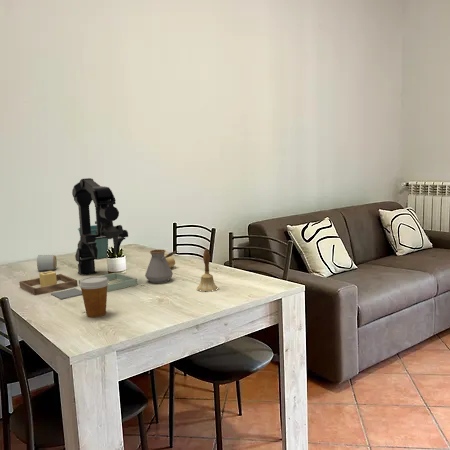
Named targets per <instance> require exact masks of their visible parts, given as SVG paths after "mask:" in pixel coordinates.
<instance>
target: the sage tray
mask: <svg viewBox="0 0 450 450" xmlns="http://www.w3.org/2000/svg"><path fill="white" fill-rule="evenodd" d="M101 276H103V277H106V278H107V280H108V281H112V280H119V281H118V282H115V283H108V285H107V293H108V292H112V291H115V290H120V289H124V288H128V287H129V286H130V287H133V285H134V286H137V285H138V278H136V277H133V276H129V275H126V274H122V273H120V272H112V273H108V274H103V275H101ZM80 281H81V279H78V285H79V284H80Z"/></svg>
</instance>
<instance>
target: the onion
mask: <svg viewBox="0 0 450 450" xmlns="http://www.w3.org/2000/svg"><path fill="white" fill-rule="evenodd" d="M168 254H169V253H164V256H166V255H168ZM166 260H167V262H168V264H169V266H170V268H171V269H173V268H174V267H175V264H176V260H175V258H174V257H173V255H172V256H170V257H167V258H166Z"/></svg>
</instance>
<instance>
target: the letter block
mask: <svg viewBox="0 0 450 450" xmlns="http://www.w3.org/2000/svg"><path fill="white" fill-rule="evenodd" d="M38 274H39V277H38V278H40V284H39V286H40V287H44V286H49V285H54V284H58V283H57V280H56V275H57V272H55V271H54V270H47V271H41V272H39V273H38Z"/></svg>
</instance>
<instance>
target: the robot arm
mask: <svg viewBox="0 0 450 450" xmlns="http://www.w3.org/2000/svg"><path fill="white" fill-rule="evenodd" d="M71 193H72V198H73V201H74V202H75V204H76V205H77V207H78V219H79V220H78V221H79V228H80V233H79V235H80V234H81V237H80V236H79V241H78V243H77V249H76V251H75V255H74V257H75V261H76V262H78V264H77V269H78V270H77V271H78V272H77V274H80V275H82V276H86V275H87V276H88V275H93V274H96V273H98V272H97V271H96V263H95V260H98V259H97V253H98V249H97V247H96V244H97V243H96V242H95V240H96V239H102V238H107V239H108V240H112V241H113V251H114V254H115V256H118V254H119V250H120V247H121V244H122V242H123V241H124V240H126V238H128V237H129V232H128V230H127V229H123V225H121V224H117V225H114V222H115V221H116V220H117V219H118V218H119V216H120V212H119V209H118V208H117V207H115V206H114V205H116V197H115V195H114V193H113V191H112V190H111V188H110V187H109V186H101V185H100V184H98V183H97V182H96V181H95V180H94V179H93V178H92V177H91V178H90V177H88V178H81V179H80V181H79V182H77V183H76V184H74V185H73V188H72V192H71ZM92 202H93V203H94V207H95V208H94V209H95V221H94V225H97V231H96V234H97V235H94V234H91V226H92V224H91V215H90V212H91V211H90V205H91V204H92Z"/></svg>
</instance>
